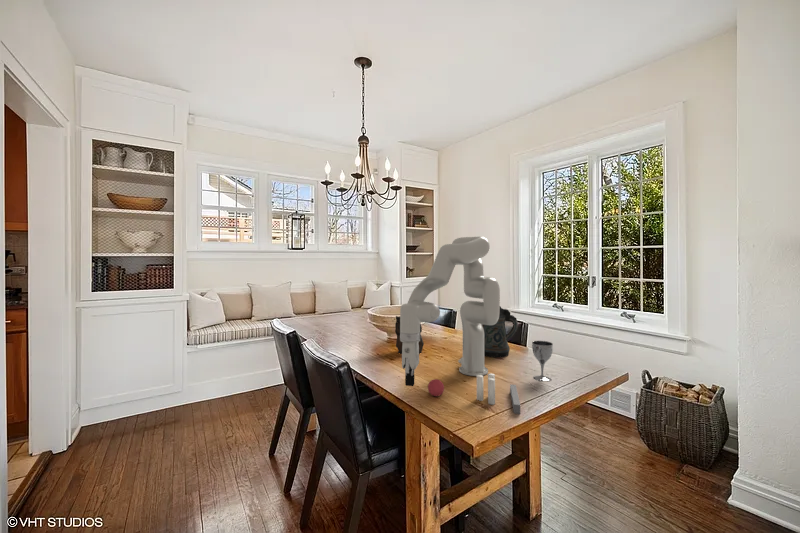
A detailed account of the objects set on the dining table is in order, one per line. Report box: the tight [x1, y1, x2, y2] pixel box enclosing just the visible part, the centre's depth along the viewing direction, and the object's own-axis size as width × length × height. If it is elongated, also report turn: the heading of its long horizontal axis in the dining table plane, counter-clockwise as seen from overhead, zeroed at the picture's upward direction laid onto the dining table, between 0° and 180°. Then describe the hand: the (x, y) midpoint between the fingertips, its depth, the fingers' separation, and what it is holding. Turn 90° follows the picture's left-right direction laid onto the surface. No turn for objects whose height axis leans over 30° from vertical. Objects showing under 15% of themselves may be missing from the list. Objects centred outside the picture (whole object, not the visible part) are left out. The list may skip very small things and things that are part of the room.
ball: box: [427, 378, 445, 397], centre depth 131 cm, size 6×6×6 cm
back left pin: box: [487, 373, 496, 380], centre depth 128 cm, size 2×2×8 cm
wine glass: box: [531, 340, 554, 382], centre depth 147 cm, size 8×8×15 cm
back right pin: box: [487, 378, 496, 406], centre depth 124 cm, size 2×2×8 cm
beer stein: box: [482, 305, 519, 358], centre depth 185 cm, size 16×19×25 cm
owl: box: [394, 315, 425, 355], centre depth 188 cm, size 13×13×20 cm
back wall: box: [509, 384, 521, 415], centre depth 124 cm, size 18×2×3 cm, turn 166°
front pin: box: [476, 375, 484, 402], centre depth 127 cm, size 2×2×8 cm
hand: (409, 385), depth 133 cm, fingers closed
